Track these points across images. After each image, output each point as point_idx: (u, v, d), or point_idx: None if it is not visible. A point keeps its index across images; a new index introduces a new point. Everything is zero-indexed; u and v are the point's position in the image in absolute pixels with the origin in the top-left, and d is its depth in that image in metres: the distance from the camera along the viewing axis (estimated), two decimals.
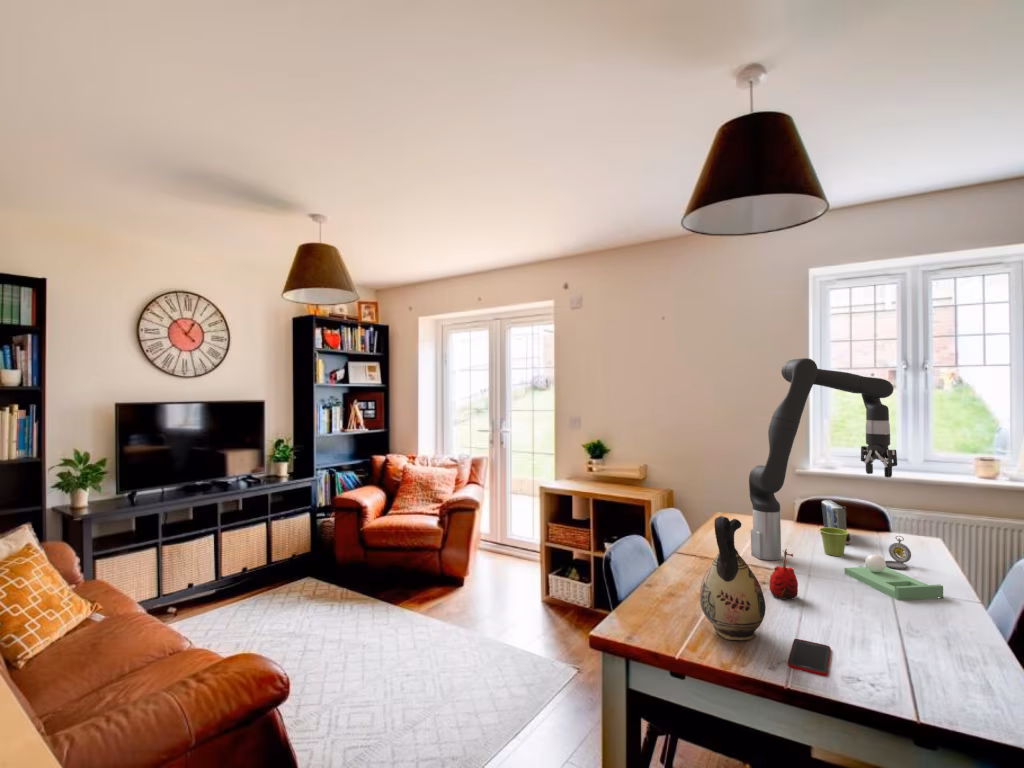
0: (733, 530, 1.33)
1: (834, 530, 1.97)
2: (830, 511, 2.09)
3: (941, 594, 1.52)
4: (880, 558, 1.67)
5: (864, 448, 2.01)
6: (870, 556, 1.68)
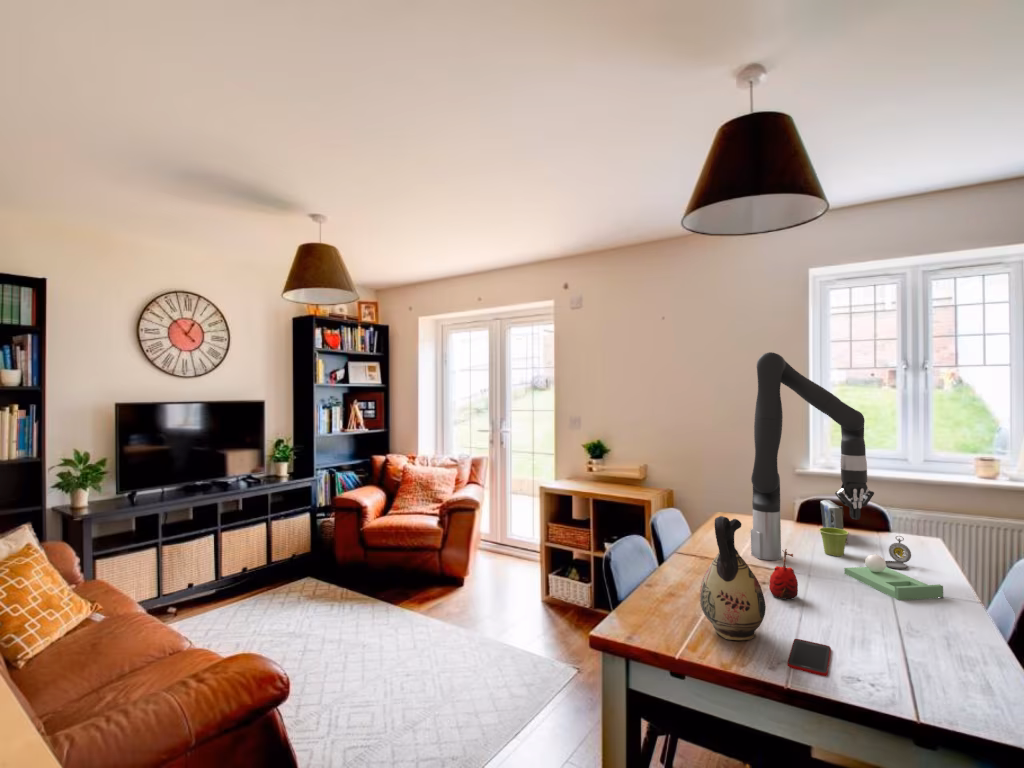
0: (733, 530, 1.33)
1: (834, 530, 1.97)
2: (827, 511, 2.10)
3: (941, 594, 1.52)
4: (880, 558, 1.67)
5: (842, 493, 1.76)
6: (870, 556, 1.68)
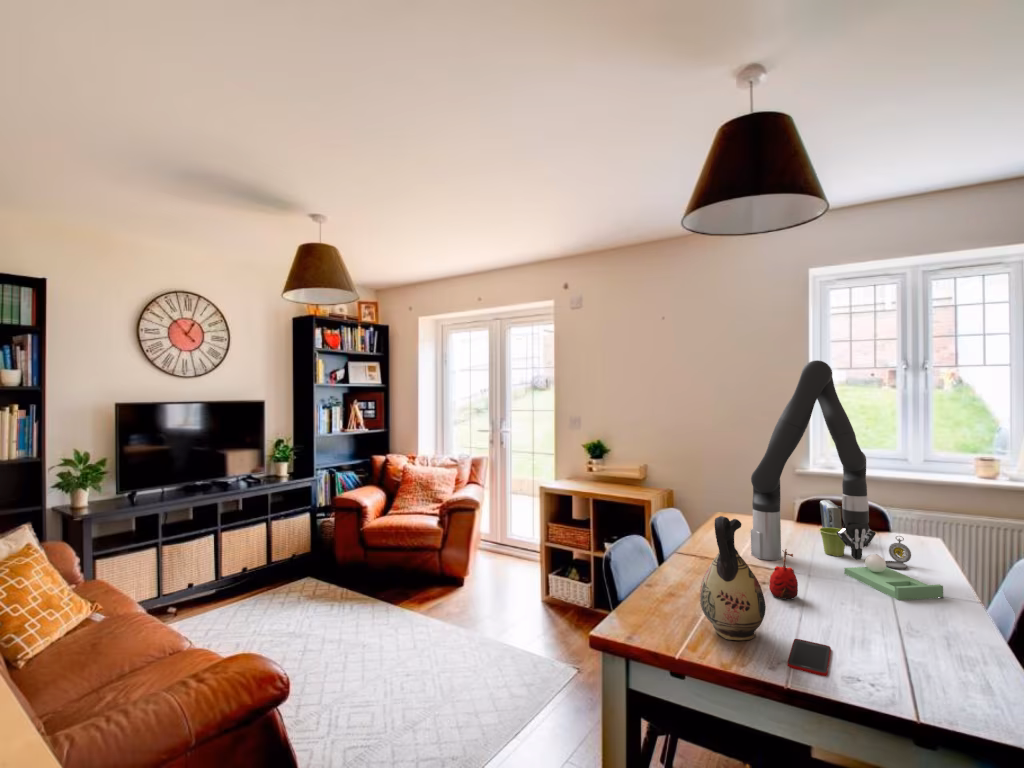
0: (733, 530, 1.33)
1: (834, 530, 1.97)
2: (826, 510, 2.10)
3: (941, 594, 1.52)
4: (880, 558, 1.67)
5: (844, 533, 1.76)
6: (870, 556, 1.68)
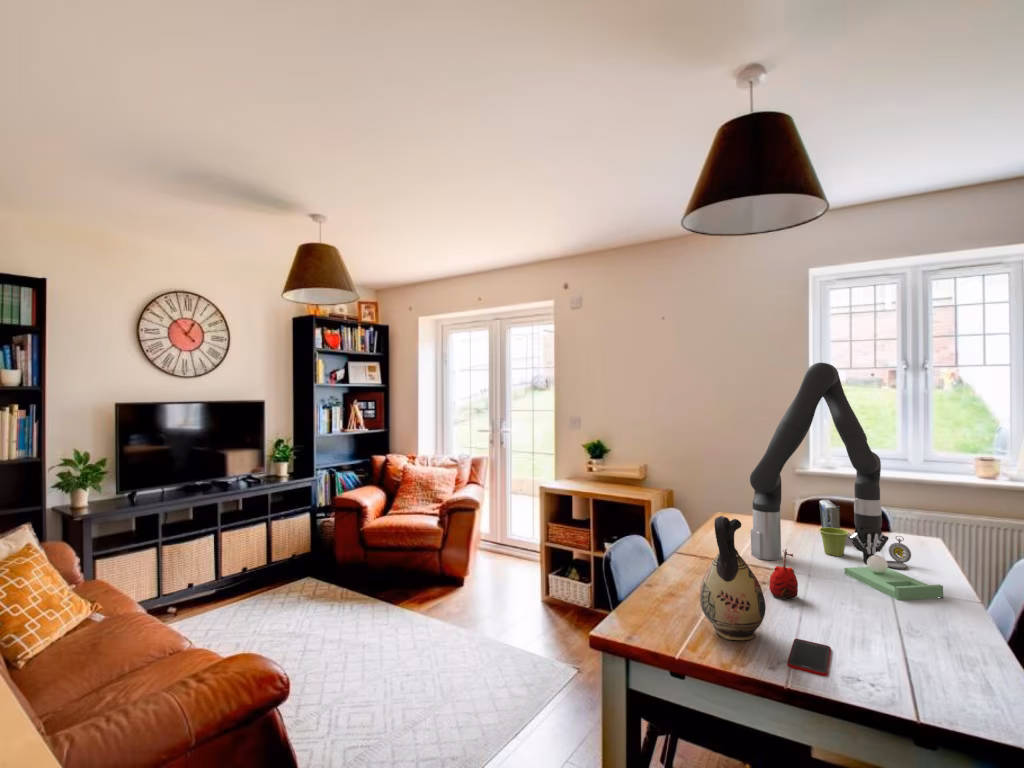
0: (733, 530, 1.33)
1: (834, 530, 1.97)
2: (824, 510, 2.10)
3: (941, 594, 1.52)
4: (883, 560, 1.65)
5: (856, 538, 1.70)
6: (873, 557, 1.67)
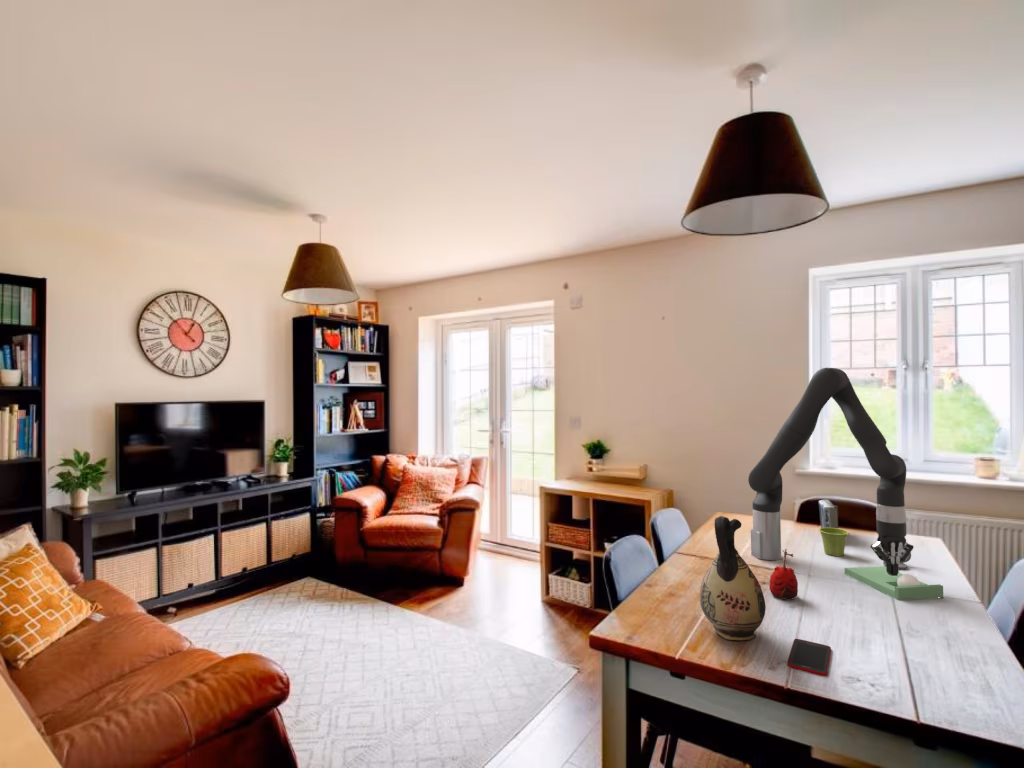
0: (733, 530, 1.33)
1: (834, 530, 1.97)
2: (822, 510, 2.11)
3: (941, 594, 1.52)
4: None
5: (878, 547, 1.61)
6: None
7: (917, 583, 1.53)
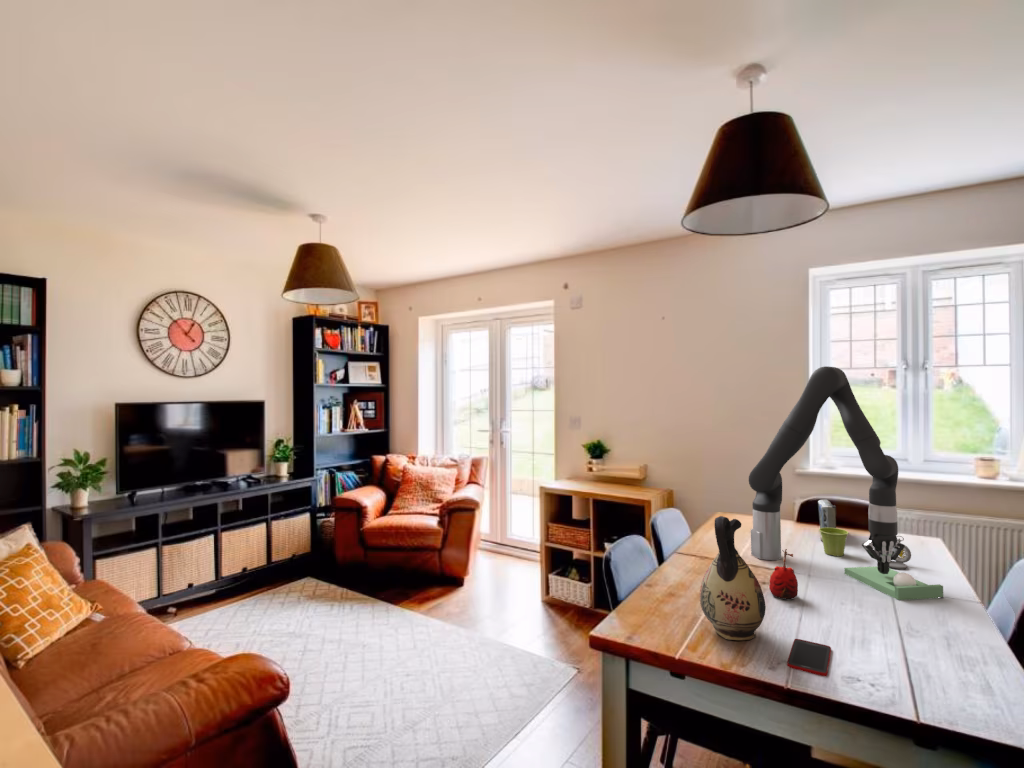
0: (733, 530, 1.33)
1: (834, 530, 1.97)
2: (820, 510, 2.11)
3: (941, 594, 1.52)
4: None
5: (870, 545, 1.63)
6: None
7: (910, 577, 1.55)
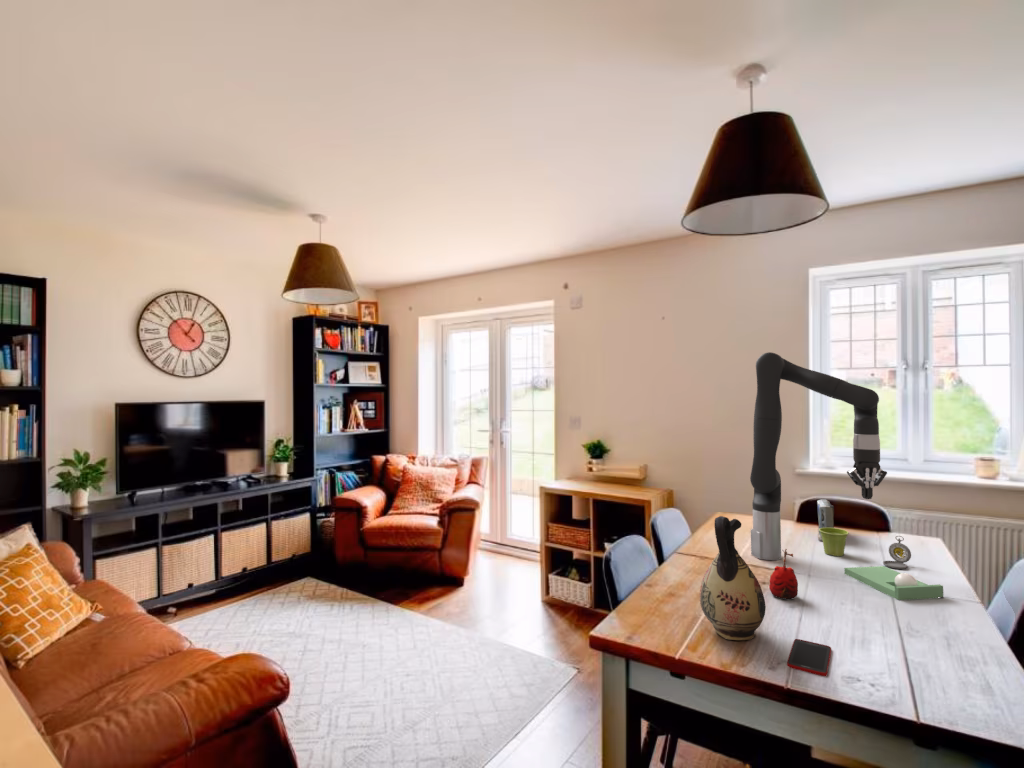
0: (733, 530, 1.33)
1: (834, 530, 1.97)
2: (818, 509, 2.12)
3: (941, 594, 1.52)
4: None
5: None
6: None
7: (913, 579, 1.55)
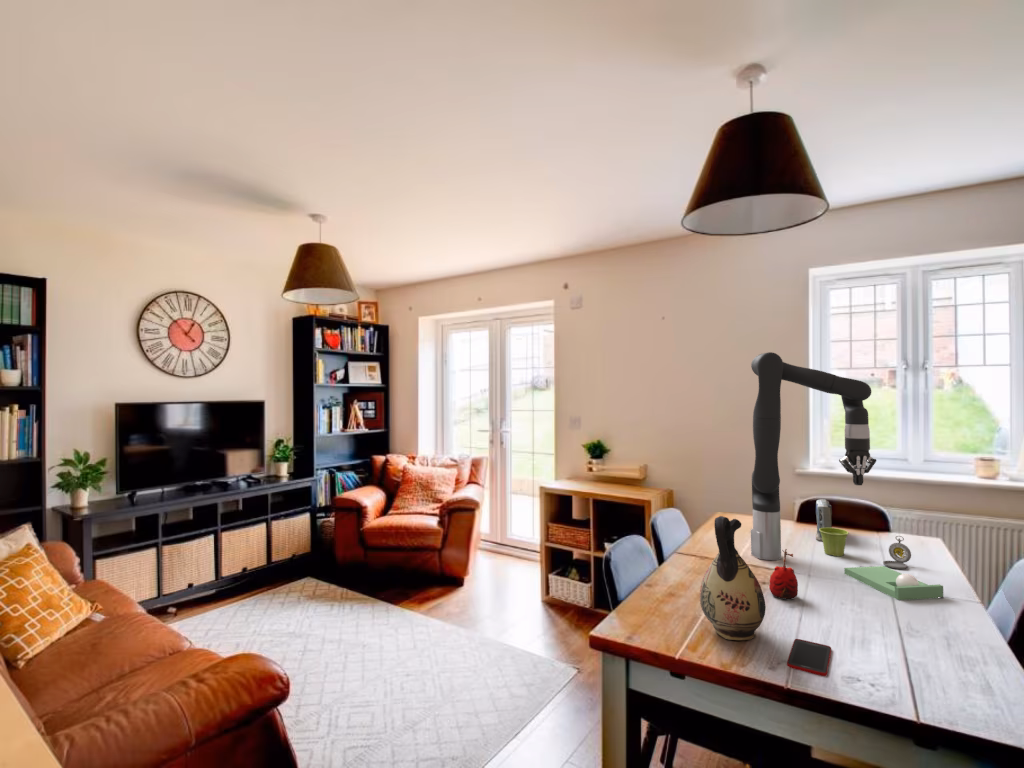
0: (733, 530, 1.33)
1: (834, 530, 1.97)
2: (816, 509, 2.12)
3: (941, 594, 1.52)
4: None
5: None
6: None
7: (915, 581, 1.54)
